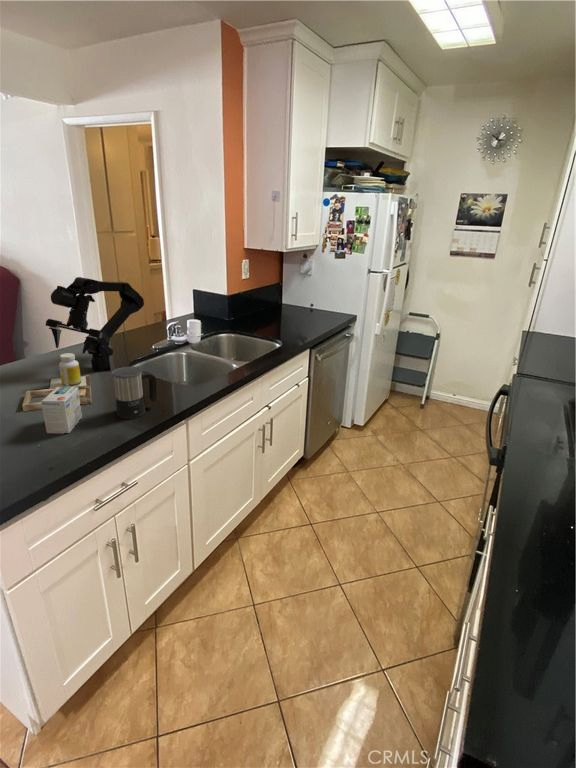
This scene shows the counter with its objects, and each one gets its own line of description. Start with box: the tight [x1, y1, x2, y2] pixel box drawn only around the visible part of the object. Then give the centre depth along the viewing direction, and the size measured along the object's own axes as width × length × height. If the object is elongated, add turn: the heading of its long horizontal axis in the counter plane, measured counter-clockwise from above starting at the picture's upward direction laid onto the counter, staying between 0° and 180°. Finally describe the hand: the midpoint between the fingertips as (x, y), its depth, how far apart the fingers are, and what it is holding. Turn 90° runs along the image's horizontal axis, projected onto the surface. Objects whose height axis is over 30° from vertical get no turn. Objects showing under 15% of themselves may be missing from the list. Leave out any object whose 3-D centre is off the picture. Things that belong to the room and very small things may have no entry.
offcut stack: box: [78, 389, 87, 398], centre depth 144 cm, size 7×6×3 cm
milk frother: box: [111, 366, 158, 420], centre depth 137 cm, size 14×16×15 cm
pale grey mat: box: [49, 375, 87, 389], centre depth 154 cm, size 13×13×1 cm
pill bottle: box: [58, 352, 81, 387], centre depth 151 cm, size 6×6×12 cm
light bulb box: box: [40, 387, 83, 434], centre depth 124 cm, size 11×7×11 cm, turn 5°
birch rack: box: [22, 374, 92, 412], centre depth 141 cm, size 20×12×6 cm, turn 114°
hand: (70, 350), depth 156 cm, fingers open, 9 cm apart
